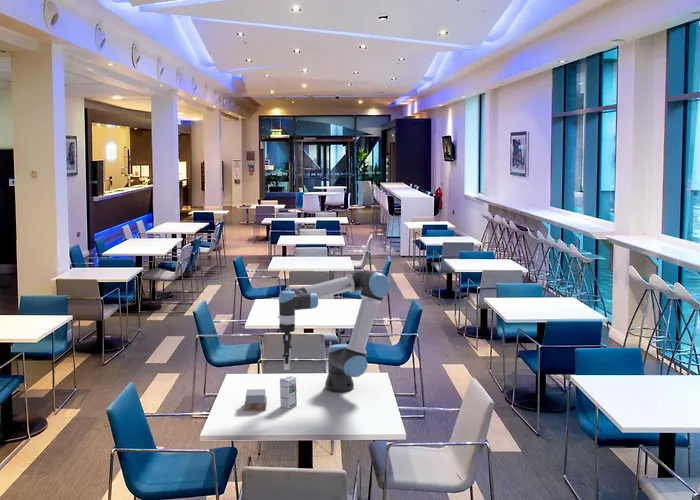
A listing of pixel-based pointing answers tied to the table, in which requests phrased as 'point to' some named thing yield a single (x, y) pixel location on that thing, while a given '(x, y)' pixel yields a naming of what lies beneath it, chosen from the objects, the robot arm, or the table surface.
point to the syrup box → (288, 392)
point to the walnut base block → (256, 406)
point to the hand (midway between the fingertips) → (287, 365)
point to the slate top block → (255, 396)
